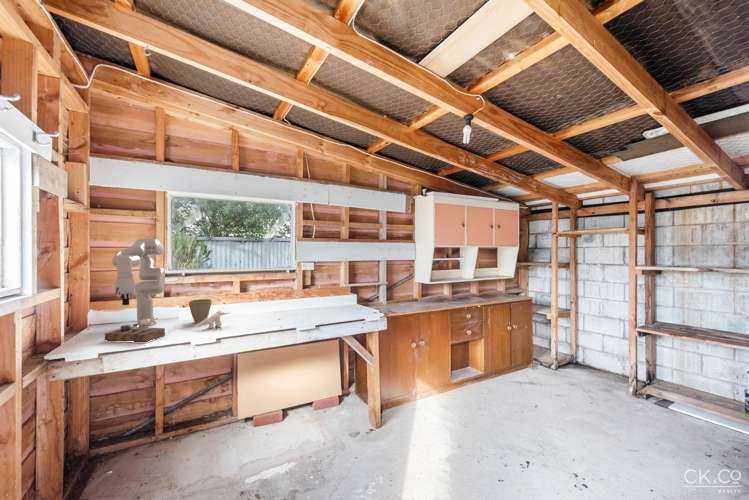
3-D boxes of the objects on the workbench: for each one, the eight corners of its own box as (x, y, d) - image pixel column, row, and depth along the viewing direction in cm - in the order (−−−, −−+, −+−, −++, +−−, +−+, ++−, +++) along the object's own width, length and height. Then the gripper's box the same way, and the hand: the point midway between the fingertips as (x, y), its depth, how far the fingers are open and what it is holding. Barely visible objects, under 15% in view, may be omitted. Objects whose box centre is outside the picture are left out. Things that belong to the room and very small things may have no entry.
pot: (135, 329, 196) (135, 323, 196) (139, 330, 196) (139, 323, 195) (131, 331, 193) (131, 324, 193) (135, 331, 193) (135, 325, 192)
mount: (105, 341, 189) (104, 333, 189) (126, 334, 203) (125, 327, 203) (146, 343, 186) (146, 334, 185) (164, 335, 199) (164, 328, 199)
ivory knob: (145, 331, 196) (145, 318, 196) (152, 331, 195) (151, 318, 195) (138, 333, 191) (138, 320, 191) (145, 333, 191) (145, 320, 190)
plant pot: (205, 324, 227) (205, 302, 227) (184, 324, 227) (184, 302, 226) (215, 319, 242) (215, 298, 241) (196, 319, 242) (195, 299, 241)
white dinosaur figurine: (232, 324, 224) (230, 309, 222) (194, 334, 208) (192, 318, 207) (229, 322, 229) (227, 307, 228) (192, 331, 213) (190, 316, 212)
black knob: (125, 336, 198) (125, 324, 198) (132, 336, 197) (132, 324, 197) (118, 339, 193) (118, 326, 193) (125, 339, 193) (125, 326, 192)
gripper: (130, 274, 202) (131, 302, 202) (107, 277, 187) (108, 307, 188) (140, 274, 201) (141, 302, 201) (118, 277, 186) (119, 307, 187)
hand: (125, 304), depth 194 cm, fingers closed
